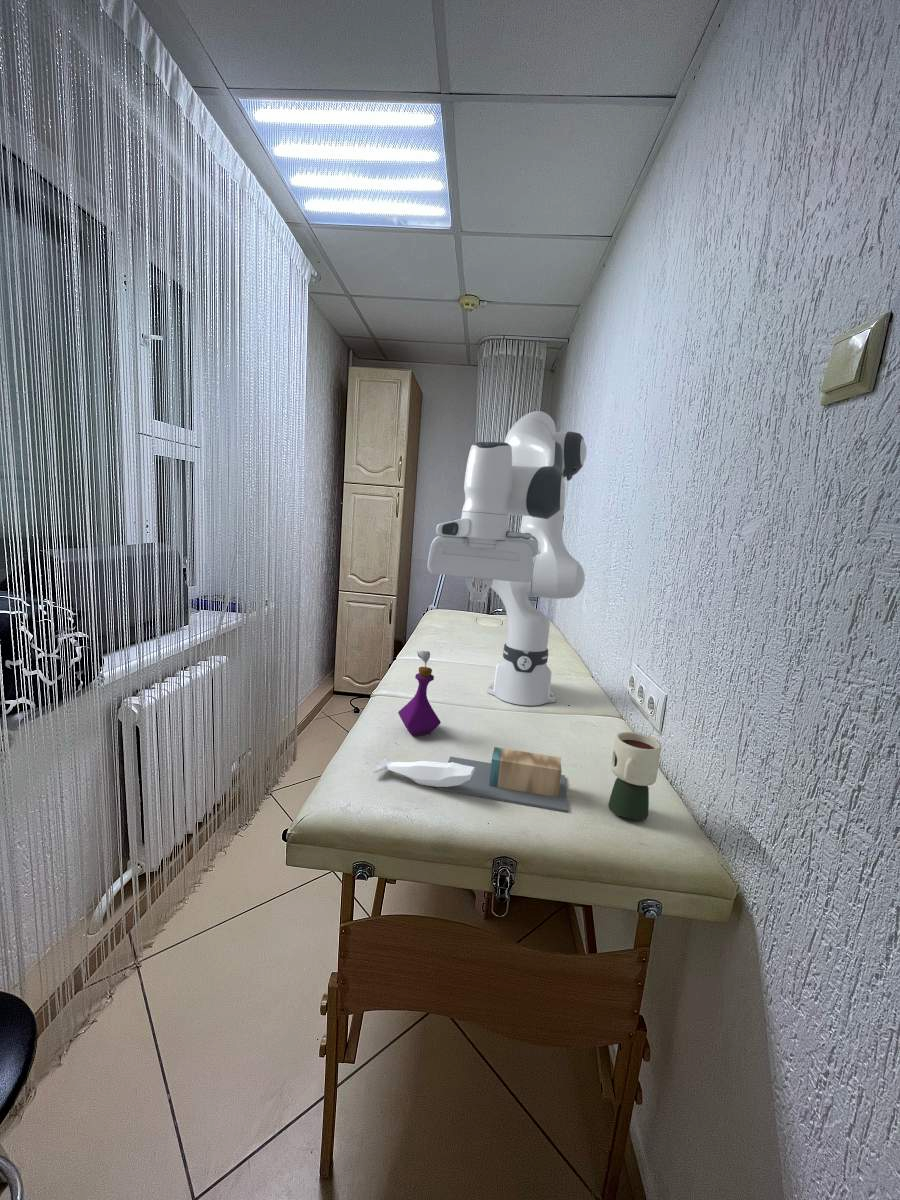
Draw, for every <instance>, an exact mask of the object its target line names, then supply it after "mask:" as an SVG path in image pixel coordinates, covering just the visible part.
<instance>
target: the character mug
mask: <svg viewBox="0 0 900 1200" xmlns="http://www.w3.org/2000/svg"><path fill="white" fill-rule="evenodd" d="M614 739H615V740H614V746H613V754H612V758H611V765H610V766H611V767H610V769H611V772H612V773H613V775H614V776H615V777H616V779H615V781H614V783H613V786H612V790H611V793H610V797H609V800H608V805H607V806H608V809H609V811H611V812H612V813H613V814H615V816H619V817H623V818H627V819H630V820H637V821H642V820H643V821H644V820H646V819H647V818H648V816H649V806H650V805H649V803H650V801H649V800H650V799H649V797H650V794H649V793H650V790H649V789H650V788H649V786H652V785H654V784H656V783H657V777H658V770H659V765H660V758H661V752H662V751H661V750H662V744H661V742H660V741H658V740H657V739H656V738H654V737H653V736H650V735H647V734H644V733H639V732H635V731H634V732H633V731H621V732H618V733H616V734H615V738H614Z"/></svg>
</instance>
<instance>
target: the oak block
mask: <svg viewBox="0 0 900 1200" xmlns="http://www.w3.org/2000/svg"><path fill="white" fill-rule="evenodd" d="M561 758H562V757H561V756H560V757H559V756H554V755H548V754H547V755H546V754H539V753H535V752H529V751H523V750H516V749H510V748H503V747H497V746H494V748H493V753H492V756H491V762H490V763H491V771H490V781H489V786H494V787H500V788H506V789H511V790H517V791H523V792H529V793H535V794H541V795H546V796H552V797H558V795H559V787H560V779H561V775H562V761H561V760H562V759H561Z"/></svg>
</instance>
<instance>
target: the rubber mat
mask: <svg viewBox="0 0 900 1200" xmlns="http://www.w3.org/2000/svg"><path fill="white" fill-rule="evenodd" d="M451 762H454V763H458V764H461V765H466V766H472V767H476V768H475V772H474V774H473V775H472V777H471V779H470V780H468V781H466V782H464V783H462V784H461V785H456V786H449V787H437V790H438V791H443V792H450V793H454V794H460V795H466V796H467V795H468V796H470V797H471V796H472V797H478V798H482V799H483V798H484V799H489V800H496V801H500V802H505V803H511V804H516V805H517V804H518V805H523V806H528V805H529V807H533V808H534V807H535V808H540V807H541V808H542V809H545V808H546V809H545V810H551V809H553V810H552V811H557V810H559V811H558V812H563V811H564V812H563V813H568V811H569V809H568V799H567V798H568V797H567V790H566V789H567V788H566V775H565V774H561V779H560V787H559V795H558V797H552V796H546V795H541V794H535V793H529V792H523V791H517V790H511V789H506V788H500V787H494V786H489V781H490V771H491V762H488V761H487V762H486V761H479V760H473V759H466V758H461V757H455V756H449V758H448V761H447V763H451Z"/></svg>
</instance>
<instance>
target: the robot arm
mask: <svg viewBox="0 0 900 1200" xmlns="http://www.w3.org/2000/svg"><path fill="white" fill-rule="evenodd" d="M587 453H588V452H587V444H586V442H585V438H584V436H582V434H581V433H579V432H575V431H566V432H562V431H558V432H557V430H556V424H555V421H554V420H553V418H552V417H551V416H550V415H549V414H548V413H546V412H544V411H542V410H541V411H540V410H537V411H536V410H535V411H531V412H529V413H526V414H524V415H523V416H522V417H520V418H519V419H518V420H517V421H516V422H515V423H514V424H513V425H512V426H511V427H510V429H509V431H508V432H507V434H506V435H505V439H504V442H500V441H477V442H475V443H473V444H472V445H471V446H470V450H469V454H468V456H467V457H468V458H467V461H466V469H465V475H464V485H463V491H464V498H465V499H464V504H463V507H462V510H461V517H460V518H459V519H452V520H450V521H445V522H442V523H441V522H440V523H438V524H437V525H436V529H435V532H436V534H437V536H436V537H435V538H434V539H433V540H432V542H431V543H430V547H429V553H428V558H427V566H426V567H427V570H428V571H429V573H430V574H435V575H442V576H443V575H445V576H456V577H464V578H465V582H464V583H465V585H466V587H467V589H468V592H469V601H470V602H479V603H485V602H486V598H487V597H486V596H487V593H488V592H489V590H490V589H492V591H493V592H495V593H496V594H497V595H498V597H499V599H500V600H501V602H502V603H503V606H504V608H505V612H506V623H507V624H506V637H505V638H506V639H505V640H506V641H505V643H504V645H503V648H502V649H503V650H502V659H501V660H500V661H499V662H498V663H497V664H496V667H495V674H494V682H492V684H490V685H489V686H488V687H487V689H486V693H488V694H490V695H492V696H495V697H496V698H498V699H499V700H502V701H504V702H506V703H510V704H512V705H513V704H514V705H519V706H532V707H533V706H540V705H544V704H549V703H557V702H556V701H557V697H556V696H555V694H554V693H553V691H552V689H551V686H552V685H551V683H552V670H551V669H550V668H549V666H548V664H547V663H548V660H549V659H548V658H549V649H548V641H549V633H550V626H551V625H550V620H549V618H548V616H547V615H546V614H545V613H543V612H542V610H541V611H540V610H539V609H538V608H535V606H533V605H532V604H531V603H530V600H529V598H530V597H537V598H538V597H539V598H547V599H557V600H560V599H570V598H571V599H572V598H575V597H577V596H578V595H579V593H581V591H582V590H583V588H584V585H585V576H586V575H585V572H584V568H583V566H582V565H581V563H580V562H579V561H578V560H576V559H575V558H574V557H573V556H572V555H571V554H570V551H568V550H567V548H566V545H565V542H564V538H563V523H564V522H563V521H564V515H565V513H564V512H565V506H566V504H565V503H566V495H565V494H566V485H565V478H566V480H567V481H568V482H569V481H571V480H572V479H573V476H575V475H577V474H578V473H579V471H580V470H581V469H582V468H583V467H584V463H585V460H586V458H587ZM509 515H513V516H522V517H521V520H520V521H521V522H520V528H519V531H518V532H517V531H509V530H508V528H509V527H508V526H509V517H510V516H509ZM538 552H539V553H538ZM475 579H483V580H484V585H486V586H485V588H484V589H483V591H478V590H477V591H476V590H475V588H474V586H473V584H472V583H474V582H475Z"/></svg>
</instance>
